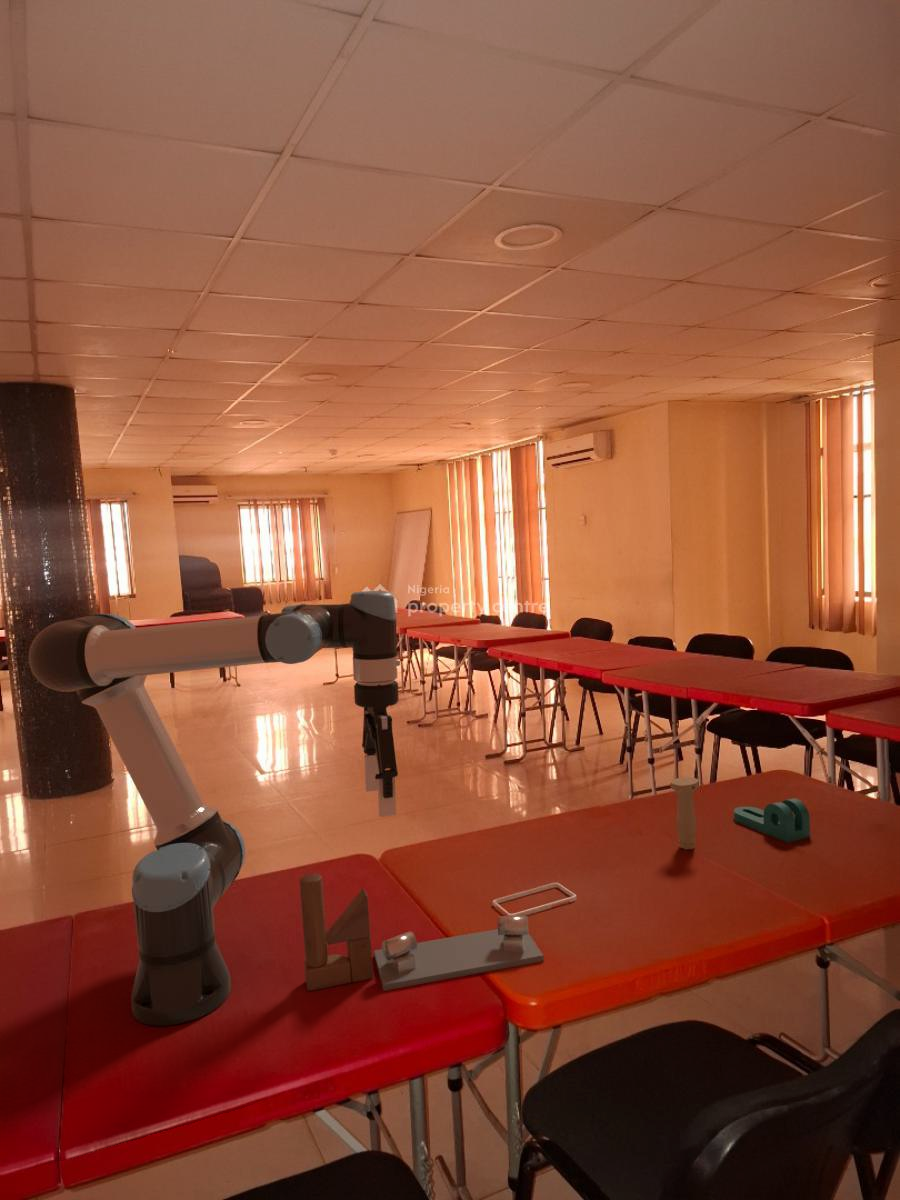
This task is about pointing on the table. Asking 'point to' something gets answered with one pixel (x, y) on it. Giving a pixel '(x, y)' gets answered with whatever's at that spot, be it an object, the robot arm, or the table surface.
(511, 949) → the grey knob
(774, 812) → the bracket
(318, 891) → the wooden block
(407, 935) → the grey block
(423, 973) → the plate
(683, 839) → the handle
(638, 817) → the table surface
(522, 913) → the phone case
